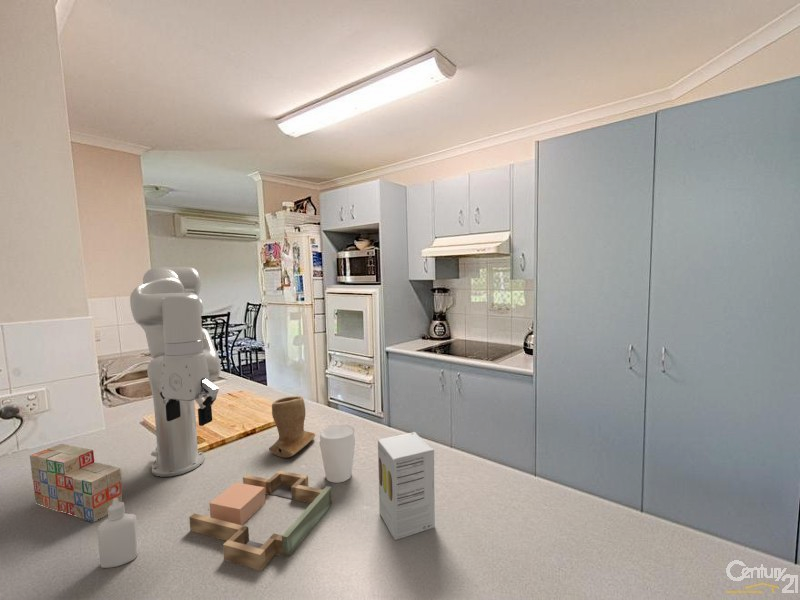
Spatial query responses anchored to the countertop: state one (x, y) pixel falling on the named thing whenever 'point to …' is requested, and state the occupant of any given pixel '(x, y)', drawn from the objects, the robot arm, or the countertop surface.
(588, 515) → the countertop surface
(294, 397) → the stone cup
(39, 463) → the stack of blocks
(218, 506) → the block
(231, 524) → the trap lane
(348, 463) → the cup
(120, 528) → the eye dropper bottle
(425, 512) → the supplement box
